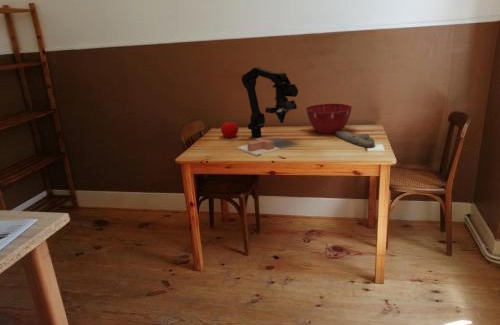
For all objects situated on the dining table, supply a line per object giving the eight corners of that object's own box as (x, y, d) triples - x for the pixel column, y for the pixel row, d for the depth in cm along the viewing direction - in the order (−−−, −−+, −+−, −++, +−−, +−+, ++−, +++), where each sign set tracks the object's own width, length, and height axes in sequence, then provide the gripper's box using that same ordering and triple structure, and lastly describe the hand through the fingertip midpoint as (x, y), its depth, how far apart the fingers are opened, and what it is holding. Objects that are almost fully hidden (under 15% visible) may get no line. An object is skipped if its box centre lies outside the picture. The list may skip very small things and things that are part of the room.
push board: (236, 148, 219) (236, 147, 219) (277, 139, 234) (277, 137, 234) (256, 156, 203) (256, 154, 203) (298, 145, 218) (298, 144, 218)
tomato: (218, 139, 243) (217, 123, 240) (225, 134, 255) (224, 119, 252) (235, 139, 240) (234, 123, 237) (241, 134, 251) (240, 119, 248)
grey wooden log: (344, 135, 240) (330, 138, 237) (344, 127, 238) (330, 130, 236) (380, 145, 208) (364, 149, 205) (380, 136, 206) (364, 139, 203)
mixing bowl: (339, 139, 227) (340, 113, 222) (297, 134, 244) (297, 110, 239) (358, 128, 248) (359, 104, 243) (318, 125, 265) (318, 102, 260)
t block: (243, 148, 216) (243, 141, 214) (261, 144, 222) (260, 137, 221) (256, 152, 206) (255, 145, 205) (273, 148, 212) (273, 141, 211)
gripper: (276, 99, 206) (277, 127, 211) (302, 94, 215) (303, 122, 220) (264, 97, 215) (265, 124, 220) (290, 93, 224) (290, 119, 229)
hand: (281, 123), depth 222 cm, fingers closed
